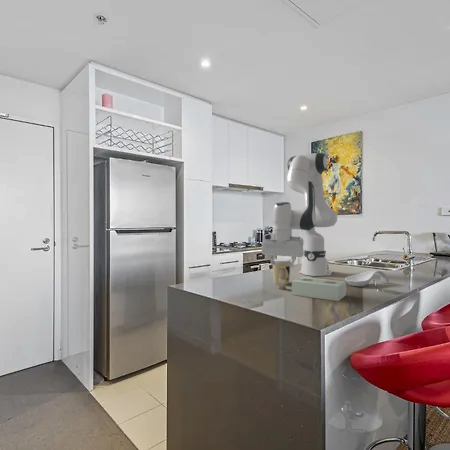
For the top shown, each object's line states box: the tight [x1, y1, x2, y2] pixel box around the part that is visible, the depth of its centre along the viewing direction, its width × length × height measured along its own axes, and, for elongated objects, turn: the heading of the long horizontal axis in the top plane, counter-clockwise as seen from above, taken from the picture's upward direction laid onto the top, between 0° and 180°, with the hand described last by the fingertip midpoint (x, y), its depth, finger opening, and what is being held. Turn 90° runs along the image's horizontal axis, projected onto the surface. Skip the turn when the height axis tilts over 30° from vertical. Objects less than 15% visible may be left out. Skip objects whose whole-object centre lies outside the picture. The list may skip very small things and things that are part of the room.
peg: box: [278, 267, 287, 291], centre depth 149 cm, size 3×3×10 cm
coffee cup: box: [272, 258, 291, 285], centre depth 162 cm, size 9×9×12 cm
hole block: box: [291, 276, 347, 302], centre depth 137 cm, size 12×20×6 cm, turn 55°
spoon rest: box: [344, 269, 390, 288], centre depth 158 cm, size 24×12×7 cm, turn 110°
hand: (282, 265), depth 148 cm, fingers open, 8 cm apart
